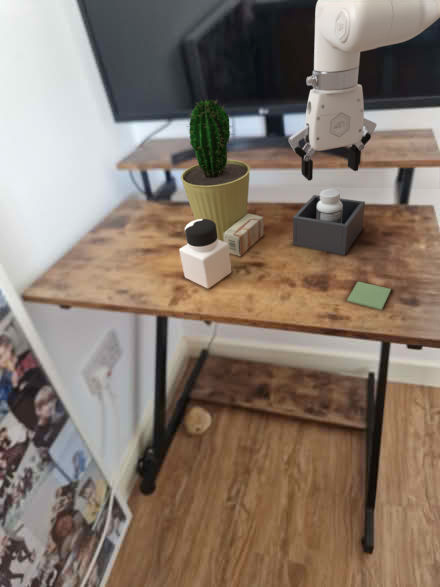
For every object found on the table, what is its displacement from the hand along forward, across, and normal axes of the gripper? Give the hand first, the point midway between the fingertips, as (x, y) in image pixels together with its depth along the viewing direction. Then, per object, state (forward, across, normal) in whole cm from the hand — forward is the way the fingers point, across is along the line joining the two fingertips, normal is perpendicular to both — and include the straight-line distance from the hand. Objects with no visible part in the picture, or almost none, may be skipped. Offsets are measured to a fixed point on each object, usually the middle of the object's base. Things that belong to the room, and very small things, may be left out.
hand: (330, 173), depth 81 cm
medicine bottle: (+15, -28, -5) cm, 32 cm away
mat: (+14, -2, -22) cm, 27 cm away
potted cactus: (+15, -21, +12) cm, 29 cm away
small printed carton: (+12, -22, +1) cm, 25 cm away
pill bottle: (+14, 0, 0) cm, 14 cm away
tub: (+15, 0, 0) cm, 15 cm away
